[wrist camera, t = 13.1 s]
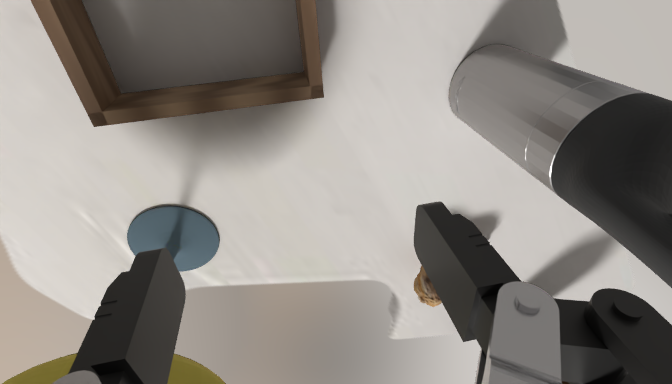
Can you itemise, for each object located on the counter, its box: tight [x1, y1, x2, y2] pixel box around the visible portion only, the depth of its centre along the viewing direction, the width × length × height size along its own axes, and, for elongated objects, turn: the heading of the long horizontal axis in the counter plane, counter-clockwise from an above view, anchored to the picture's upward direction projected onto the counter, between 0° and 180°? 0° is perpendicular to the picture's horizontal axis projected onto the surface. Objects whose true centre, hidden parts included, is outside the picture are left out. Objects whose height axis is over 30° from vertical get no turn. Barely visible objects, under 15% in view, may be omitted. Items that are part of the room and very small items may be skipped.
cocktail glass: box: [3, 206, 226, 384], centre depth 34 cm, size 18×18×25 cm
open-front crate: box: [31, 0, 324, 127], centre depth 28 cm, size 20×17×5 cm
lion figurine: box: [414, 242, 490, 307], centre depth 51 cm, size 15×5×9 cm, turn 97°
